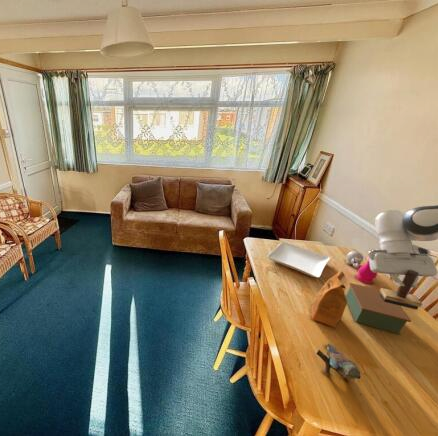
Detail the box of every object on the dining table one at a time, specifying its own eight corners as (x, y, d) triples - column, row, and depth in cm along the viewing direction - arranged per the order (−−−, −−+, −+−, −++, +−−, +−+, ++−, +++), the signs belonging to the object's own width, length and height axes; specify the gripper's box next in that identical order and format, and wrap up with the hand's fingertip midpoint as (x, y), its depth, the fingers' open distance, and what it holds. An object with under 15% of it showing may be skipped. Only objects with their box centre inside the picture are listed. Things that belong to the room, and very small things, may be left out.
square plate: (329, 261, 138) (331, 256, 136) (317, 283, 121) (319, 277, 119) (281, 244, 156) (282, 239, 154) (265, 261, 139) (266, 255, 137)
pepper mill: (371, 278, 124) (387, 247, 116) (374, 286, 119) (392, 254, 110) (354, 273, 128) (368, 243, 119) (356, 281, 122) (372, 249, 114)
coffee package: (338, 312, 103) (357, 274, 94) (336, 331, 95) (357, 290, 85) (312, 302, 109) (327, 264, 100) (308, 318, 100) (324, 279, 91)
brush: (411, 301, 89) (428, 271, 83) (418, 310, 84) (436, 279, 79) (377, 294, 93) (391, 265, 87) (383, 302, 88) (398, 272, 83)
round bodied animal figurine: (345, 269, 131) (350, 257, 128) (343, 259, 140) (348, 247, 137) (361, 273, 128) (367, 261, 124) (358, 263, 137) (364, 251, 133)
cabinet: (384, 306, 107) (392, 292, 103) (403, 336, 92) (413, 321, 89) (343, 295, 113) (349, 282, 109) (354, 322, 98) (362, 308, 95)
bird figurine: (311, 337, 91) (331, 327, 75) (342, 349, 87) (369, 341, 71) (308, 374, 85) (329, 371, 69) (341, 388, 81) (371, 389, 65)
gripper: (374, 247, 88) (383, 283, 84) (435, 250, 85) (447, 289, 81) (361, 250, 94) (369, 284, 89) (418, 254, 91) (429, 289, 87)
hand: (407, 286), depth 85 cm, fingers closed on brush, 3 cm apart
